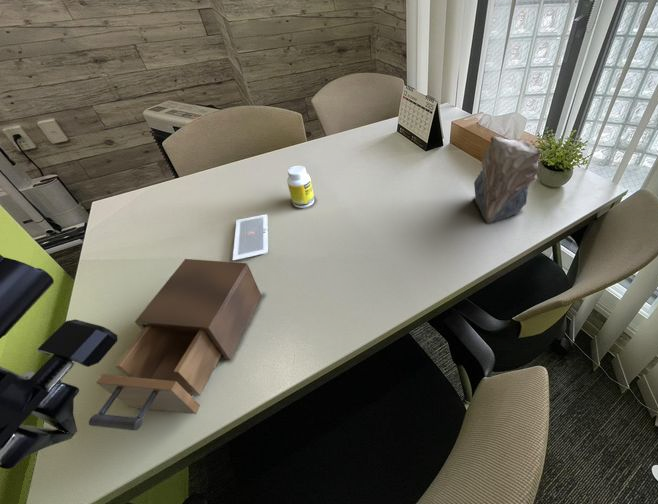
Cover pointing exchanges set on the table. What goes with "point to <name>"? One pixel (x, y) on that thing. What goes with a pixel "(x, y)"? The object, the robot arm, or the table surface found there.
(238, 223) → the touchpad
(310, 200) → the pill bottle
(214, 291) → the cabinet
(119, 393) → the drawer
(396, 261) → the table surface
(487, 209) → the brown grey rock
